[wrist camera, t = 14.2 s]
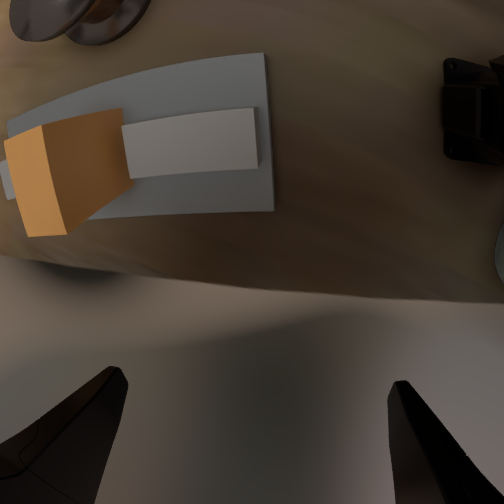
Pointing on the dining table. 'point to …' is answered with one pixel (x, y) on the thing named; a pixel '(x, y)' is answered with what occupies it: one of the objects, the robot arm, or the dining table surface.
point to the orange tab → (68, 170)
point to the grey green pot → (500, 253)
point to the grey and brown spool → (75, 19)
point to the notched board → (171, 100)
